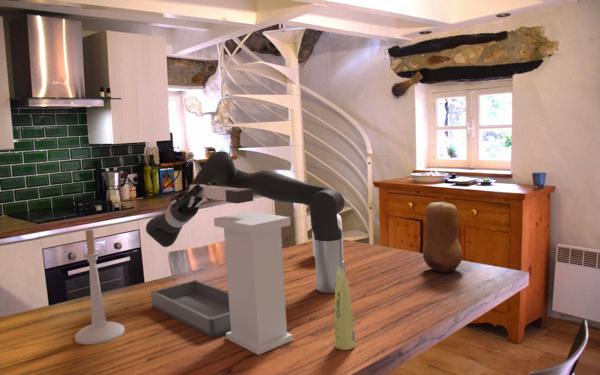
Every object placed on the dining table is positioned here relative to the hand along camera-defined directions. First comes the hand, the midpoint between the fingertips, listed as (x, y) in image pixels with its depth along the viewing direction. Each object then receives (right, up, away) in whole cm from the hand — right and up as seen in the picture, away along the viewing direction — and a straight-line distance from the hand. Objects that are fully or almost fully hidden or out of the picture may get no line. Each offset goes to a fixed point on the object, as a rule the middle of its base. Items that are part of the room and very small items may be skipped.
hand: (205, 186), depth 141 cm
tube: (+38, -40, -17) cm, 57 cm away
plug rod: (+4, -3, -5) cm, 7 cm away
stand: (+16, -40, -11) cm, 44 cm away
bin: (-2, -38, +10) cm, 39 cm away
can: (+38, -29, +67) cm, 83 cm away
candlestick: (-29, -41, -2) cm, 50 cm away
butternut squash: (+78, -31, +40) cm, 93 cm away
